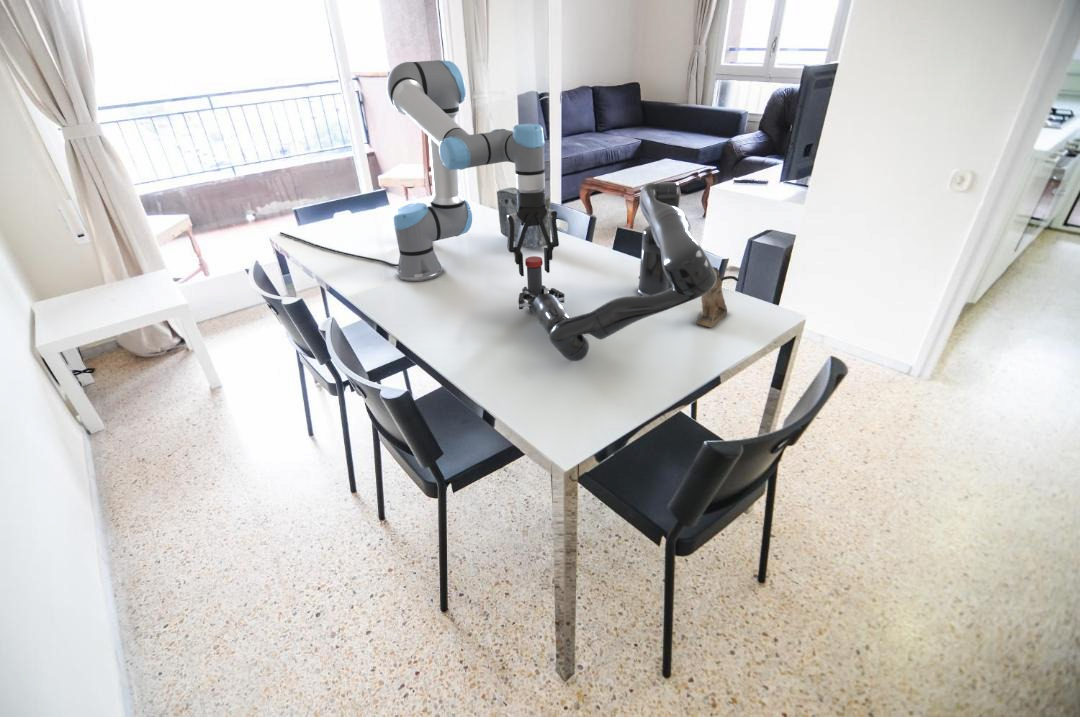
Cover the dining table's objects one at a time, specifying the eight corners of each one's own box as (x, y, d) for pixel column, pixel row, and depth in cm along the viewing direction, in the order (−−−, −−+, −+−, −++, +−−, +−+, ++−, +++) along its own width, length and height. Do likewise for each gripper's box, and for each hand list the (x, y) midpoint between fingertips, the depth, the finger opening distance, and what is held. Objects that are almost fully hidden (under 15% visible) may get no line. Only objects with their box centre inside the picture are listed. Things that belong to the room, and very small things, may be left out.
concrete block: (555, 250, 192) (555, 197, 181) (537, 255, 188) (535, 201, 177) (517, 234, 210) (514, 185, 200) (499, 238, 206) (496, 189, 196)
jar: (528, 313, 146) (525, 263, 138) (529, 307, 150) (527, 258, 141) (542, 314, 146) (540, 264, 138) (543, 308, 149) (541, 258, 141)
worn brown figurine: (709, 335, 136) (713, 280, 124) (691, 329, 139) (693, 274, 128) (730, 313, 142) (736, 258, 130) (712, 307, 145) (716, 253, 133)
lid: (539, 268, 137) (539, 262, 137) (523, 267, 139) (522, 261, 138) (544, 262, 141) (544, 256, 140) (528, 261, 143) (528, 255, 142)
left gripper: (562, 183, 134) (563, 263, 146) (490, 190, 130) (497, 272, 142) (571, 189, 128) (571, 272, 140) (496, 196, 124) (503, 282, 136)
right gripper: (524, 329, 133) (510, 303, 147) (574, 320, 136) (555, 296, 150) (523, 303, 129) (508, 279, 143) (574, 295, 132) (555, 273, 146)
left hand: (534, 272), depth 141 cm, fingers open, 7 cm apart
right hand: (532, 288), depth 147 cm, fingers closed on jar, 4 cm apart
